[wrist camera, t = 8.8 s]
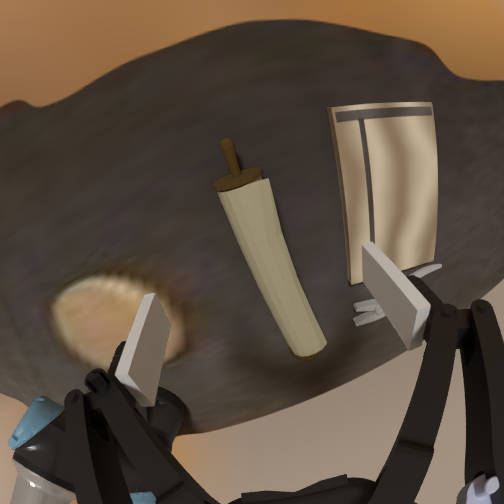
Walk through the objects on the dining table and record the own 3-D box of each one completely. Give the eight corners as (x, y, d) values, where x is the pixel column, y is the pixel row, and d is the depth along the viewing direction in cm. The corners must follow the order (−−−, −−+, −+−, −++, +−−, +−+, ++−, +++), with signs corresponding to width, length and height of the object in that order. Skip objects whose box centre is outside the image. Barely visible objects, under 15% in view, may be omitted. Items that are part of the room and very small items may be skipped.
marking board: (347, 278, 35) (351, 285, 33) (326, 108, 25) (331, 107, 24) (427, 255, 34) (433, 260, 33) (424, 102, 25) (432, 102, 23)
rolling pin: (199, 147, 27) (192, 153, 22) (251, 126, 26) (255, 128, 22) (291, 355, 41) (297, 380, 37) (326, 343, 41) (334, 367, 36)
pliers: (433, 316, 38) (354, 341, 39) (429, 310, 40) (350, 334, 40) (445, 266, 34) (357, 289, 34) (439, 261, 35) (353, 283, 36)
